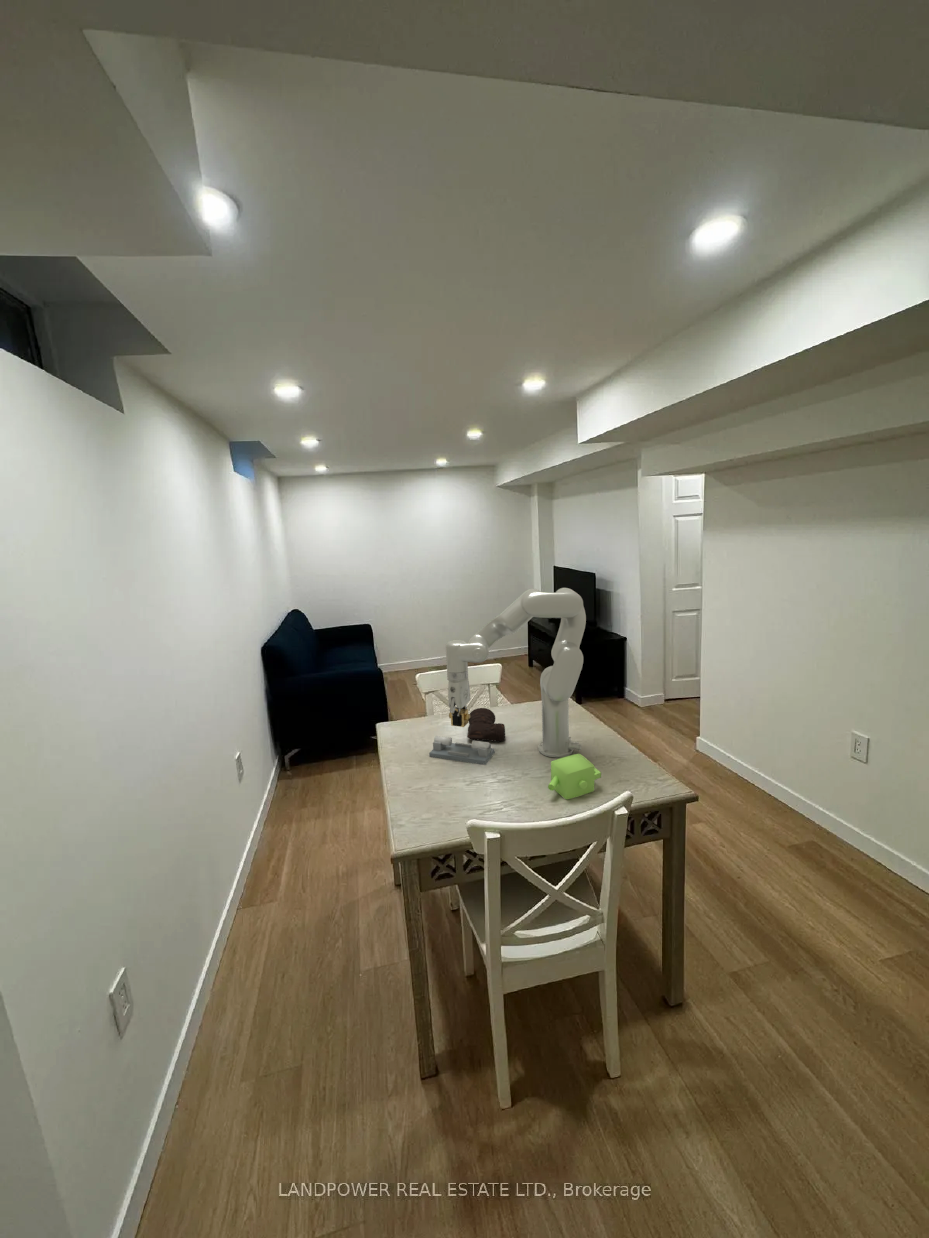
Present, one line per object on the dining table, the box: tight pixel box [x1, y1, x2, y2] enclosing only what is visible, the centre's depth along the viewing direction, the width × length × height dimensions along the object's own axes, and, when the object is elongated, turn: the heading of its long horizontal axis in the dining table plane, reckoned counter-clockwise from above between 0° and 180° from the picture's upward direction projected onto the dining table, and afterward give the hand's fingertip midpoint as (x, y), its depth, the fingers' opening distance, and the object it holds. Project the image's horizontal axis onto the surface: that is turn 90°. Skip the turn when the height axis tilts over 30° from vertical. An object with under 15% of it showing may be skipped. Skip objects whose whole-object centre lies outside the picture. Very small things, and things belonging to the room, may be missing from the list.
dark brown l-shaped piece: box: [466, 707, 506, 743], centre depth 195 cm, size 10×15×15 cm
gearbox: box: [547, 753, 602, 800], centre depth 152 cm, size 18×10×10 cm, turn 112°
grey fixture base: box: [428, 735, 496, 766], centre depth 180 cm, size 22×10×6 cm, turn 68°
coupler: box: [448, 708, 470, 728], centre depth 178 cm, size 7×4×5 cm, turn 68°
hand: (459, 722), depth 179 cm, fingers closed on coupler, 4 cm apart
